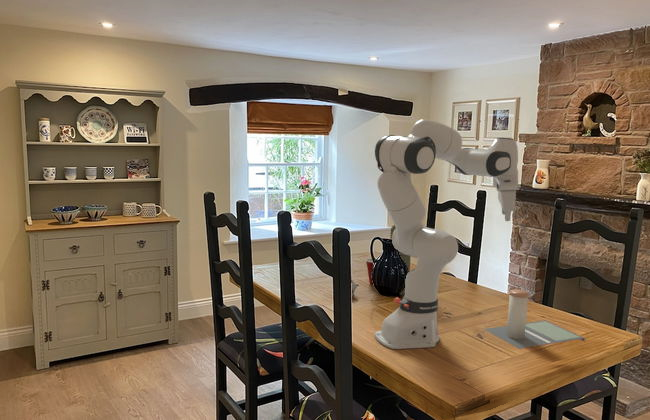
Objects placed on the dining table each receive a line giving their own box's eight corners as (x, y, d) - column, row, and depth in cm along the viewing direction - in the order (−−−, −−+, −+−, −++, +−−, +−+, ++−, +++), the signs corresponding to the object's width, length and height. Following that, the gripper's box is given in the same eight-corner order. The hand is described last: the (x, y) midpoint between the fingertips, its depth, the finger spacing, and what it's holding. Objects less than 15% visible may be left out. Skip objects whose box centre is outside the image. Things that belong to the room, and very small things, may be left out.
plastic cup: (387, 281, 247) (388, 257, 245) (387, 288, 236) (388, 262, 235) (364, 280, 248) (365, 256, 246) (364, 286, 237) (364, 261, 236)
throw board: (518, 351, 170) (519, 348, 170) (483, 331, 186) (483, 328, 186) (584, 340, 180) (584, 337, 180) (545, 322, 197) (545, 320, 197)
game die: (350, 304, 223) (359, 291, 217) (332, 297, 223) (340, 283, 217) (354, 289, 230) (362, 276, 224) (336, 282, 230) (344, 268, 223)
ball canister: (514, 340, 176) (518, 295, 174) (502, 333, 182) (505, 290, 180) (528, 338, 179) (532, 293, 176) (516, 331, 184) (519, 288, 182)
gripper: (493, 176, 200) (494, 210, 203) (499, 187, 181) (500, 224, 184) (510, 175, 199) (511, 210, 202) (518, 186, 179) (518, 224, 182)
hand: (506, 217), depth 193 cm, fingers open, 8 cm apart
